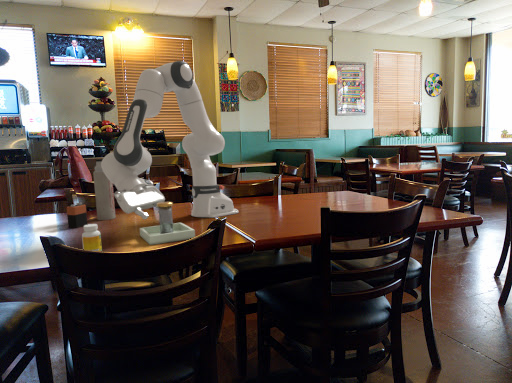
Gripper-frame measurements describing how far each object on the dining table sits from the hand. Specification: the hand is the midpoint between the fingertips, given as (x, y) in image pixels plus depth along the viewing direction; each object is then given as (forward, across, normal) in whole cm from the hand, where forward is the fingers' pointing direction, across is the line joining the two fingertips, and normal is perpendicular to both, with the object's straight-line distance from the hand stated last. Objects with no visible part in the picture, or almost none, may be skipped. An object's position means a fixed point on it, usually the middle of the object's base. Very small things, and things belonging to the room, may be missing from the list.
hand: (155, 215), depth 140 cm
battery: (-26, +4, +38) cm, 46 cm away
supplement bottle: (+3, -26, +8) cm, 28 cm away
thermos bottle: (-28, +22, +39) cm, 52 cm away
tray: (+9, 0, +2) cm, 9 cm away
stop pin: (+8, 0, +2) cm, 9 cm away
